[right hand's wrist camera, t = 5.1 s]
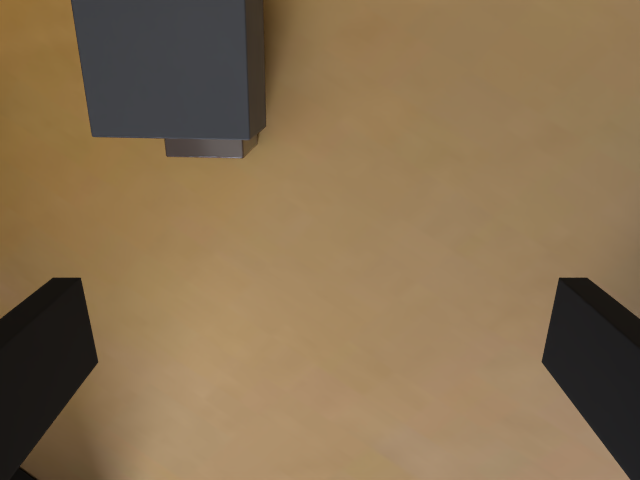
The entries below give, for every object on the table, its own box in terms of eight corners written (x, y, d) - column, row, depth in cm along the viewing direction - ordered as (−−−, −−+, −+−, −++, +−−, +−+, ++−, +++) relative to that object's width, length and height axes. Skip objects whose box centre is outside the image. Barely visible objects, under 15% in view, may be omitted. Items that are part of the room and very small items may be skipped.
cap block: (121, -21, 26) (62, -48, 20) (262, -19, 25) (243, -45, 20) (138, 124, 28) (91, 137, 23) (266, 127, 28) (250, 140, 23)
